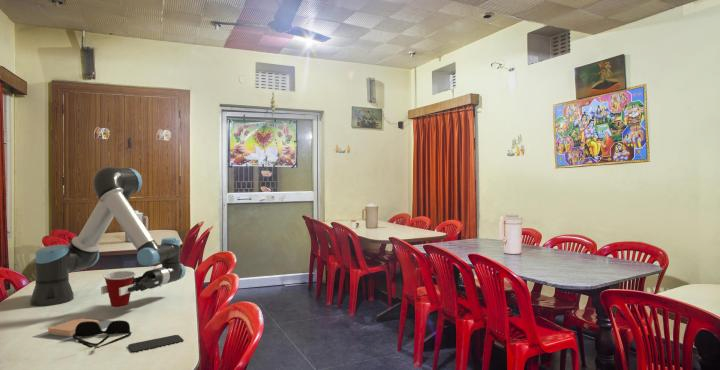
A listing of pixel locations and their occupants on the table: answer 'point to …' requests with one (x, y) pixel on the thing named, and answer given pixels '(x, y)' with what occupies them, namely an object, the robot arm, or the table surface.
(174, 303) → the table surface
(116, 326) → the sunglasses
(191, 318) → the table surface
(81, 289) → the table surface
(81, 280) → the table surface
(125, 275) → the plastic cup
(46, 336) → the mat
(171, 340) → the phone
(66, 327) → the tile
